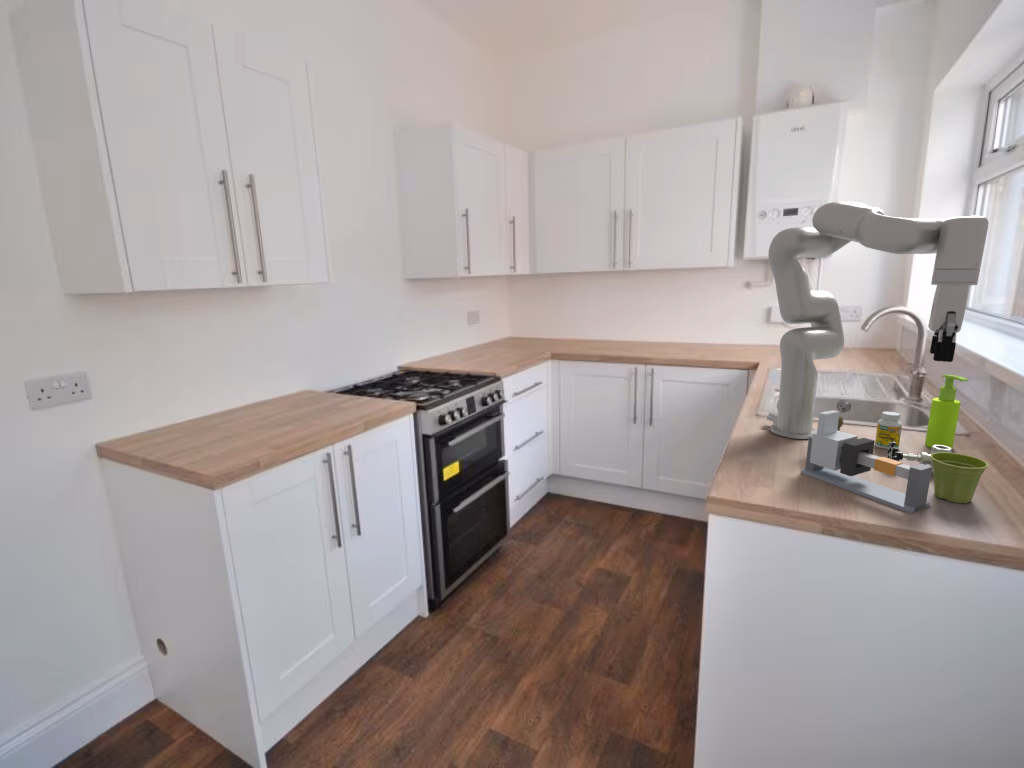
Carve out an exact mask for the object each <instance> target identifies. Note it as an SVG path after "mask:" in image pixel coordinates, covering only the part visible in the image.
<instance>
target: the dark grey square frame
mask: <svg viewBox="0 0 1024 768" xmlns="http://www.w3.org/2000/svg"><path fill="white" fill-rule="evenodd" d="M874 449H875V440H874V439H870V438H866V437H861V438H858V439H856V440H853V441H849V442H845V443H844V445H843V453H842V461H841V469H839V471H840V473H842V474H845V475H848V476H856V475H857V476H858V475H860V474H864V473H867V472H870V471H872V468H870V467H867V466H864V465H861V464H858V463H857V458H858V452H859V451H861V452H865V453H868V454H872V455H874Z"/></svg>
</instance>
